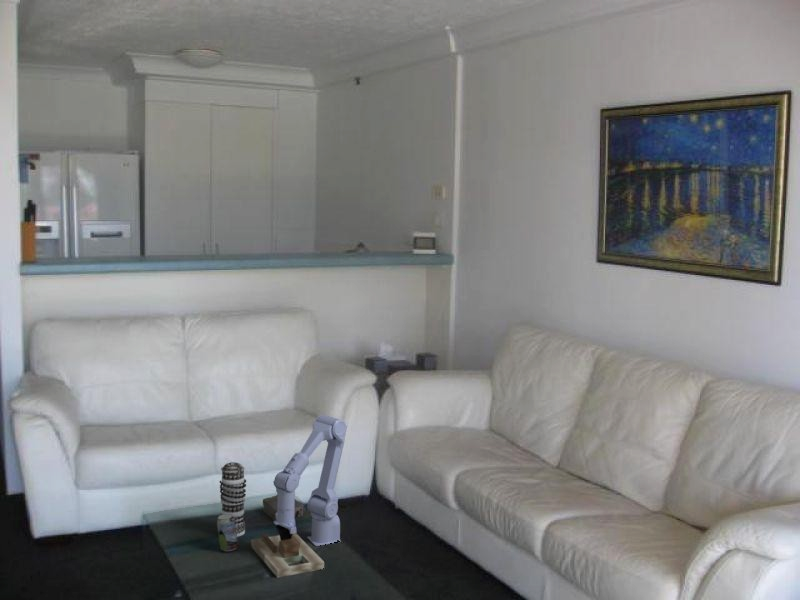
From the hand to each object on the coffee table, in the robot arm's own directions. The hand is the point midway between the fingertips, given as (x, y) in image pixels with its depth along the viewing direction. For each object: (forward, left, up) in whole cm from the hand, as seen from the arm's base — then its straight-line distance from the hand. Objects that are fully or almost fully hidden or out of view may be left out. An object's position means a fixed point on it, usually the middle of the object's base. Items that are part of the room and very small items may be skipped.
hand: (285, 546), depth 323 cm
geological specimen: (-12, -35, -4) cm, 38 cm away
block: (0, +4, -1) cm, 4 cm away
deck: (0, +1, -3) cm, 4 cm away
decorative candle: (+10, -26, -4) cm, 28 cm away
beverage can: (+16, -13, -4) cm, 21 cm away
